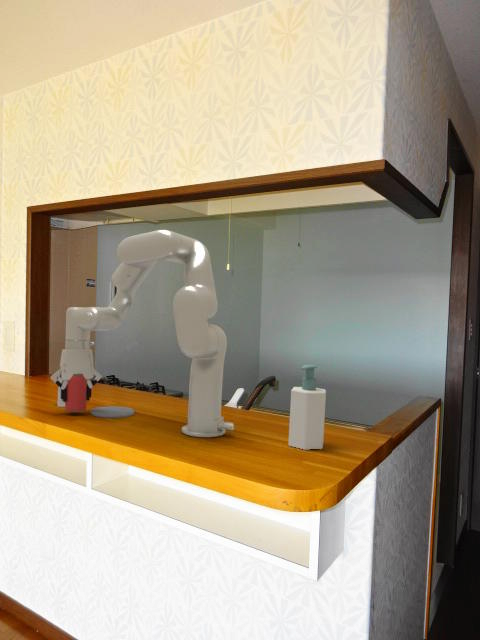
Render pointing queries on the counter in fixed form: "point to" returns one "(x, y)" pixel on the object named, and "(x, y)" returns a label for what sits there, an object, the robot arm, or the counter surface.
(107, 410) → the slate mat
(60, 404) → the skincare box
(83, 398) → the beer can
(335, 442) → the counter surface
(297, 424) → the soap bottle
